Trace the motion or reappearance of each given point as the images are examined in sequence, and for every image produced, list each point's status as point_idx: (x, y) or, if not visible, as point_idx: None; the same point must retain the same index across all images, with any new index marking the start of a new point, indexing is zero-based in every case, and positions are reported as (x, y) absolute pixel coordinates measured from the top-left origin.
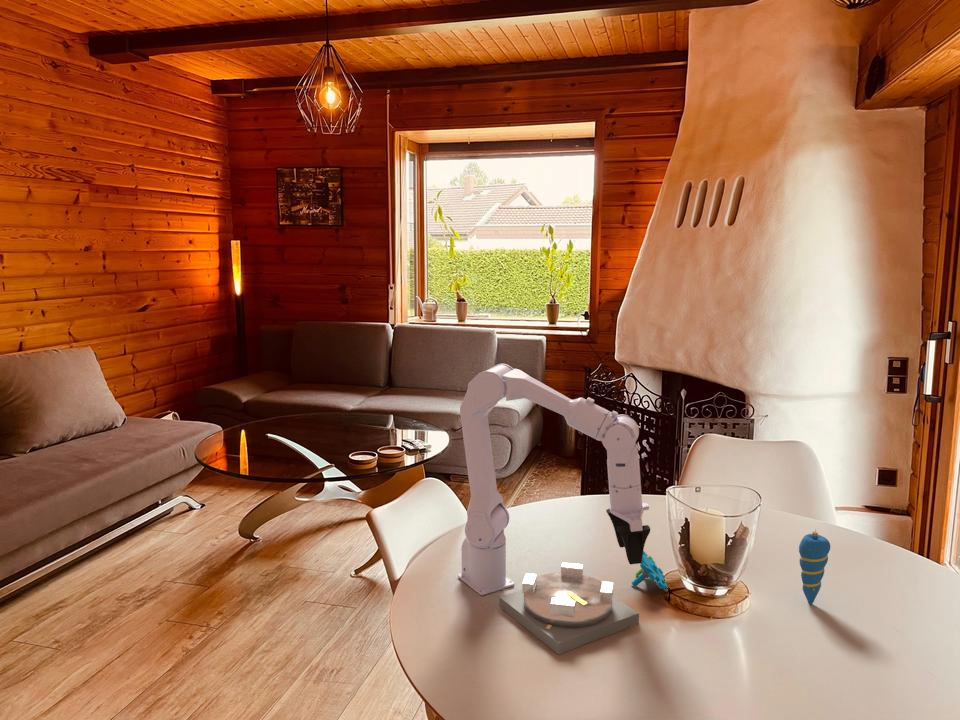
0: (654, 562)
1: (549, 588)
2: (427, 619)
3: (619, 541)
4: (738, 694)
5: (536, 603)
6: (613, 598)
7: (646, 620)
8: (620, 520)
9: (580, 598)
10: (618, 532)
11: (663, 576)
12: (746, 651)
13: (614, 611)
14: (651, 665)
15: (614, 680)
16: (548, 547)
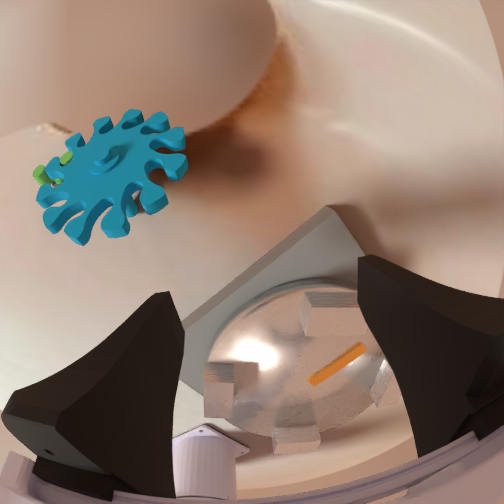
0: (55, 160)
1: (290, 410)
2: (314, 466)
3: (181, 353)
4: (487, 86)
5: (349, 413)
6: (264, 274)
7: (309, 185)
8: (152, 438)
9: (340, 359)
10: (169, 388)
11: (99, 130)
12: (392, 14)
13: (330, 271)
14: (451, 199)
15: (471, 260)
16: (43, 372)
